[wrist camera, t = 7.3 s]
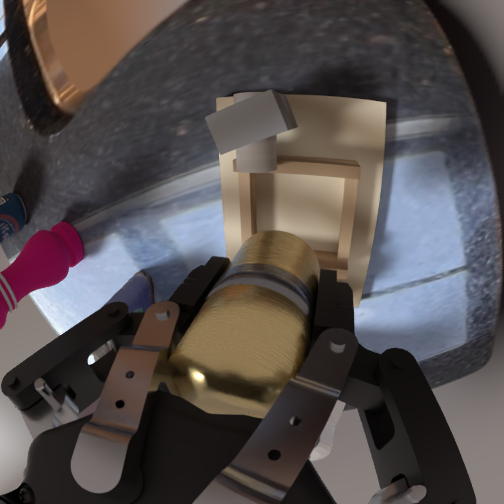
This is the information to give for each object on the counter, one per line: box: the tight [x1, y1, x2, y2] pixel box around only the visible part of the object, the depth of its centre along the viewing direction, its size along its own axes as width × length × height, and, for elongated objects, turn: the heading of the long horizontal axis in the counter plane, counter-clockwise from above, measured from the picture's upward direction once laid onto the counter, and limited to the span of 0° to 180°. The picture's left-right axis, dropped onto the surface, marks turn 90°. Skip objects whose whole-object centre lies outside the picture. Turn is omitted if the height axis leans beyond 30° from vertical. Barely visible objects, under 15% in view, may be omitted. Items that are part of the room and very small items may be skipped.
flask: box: [90, 271, 155, 361], centre depth 27 cm, size 9×3×11 cm, turn 163°
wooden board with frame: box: [205, 89, 386, 307], centre depth 18 cm, size 17×12×6 cm
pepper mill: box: [0, 222, 84, 329], centre depth 23 cm, size 7×7×20 cm
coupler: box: [167, 230, 320, 419], centre depth 10 cm, size 4×4×7 cm
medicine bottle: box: [309, 400, 346, 461], centre depth 24 cm, size 7×7×12 cm
